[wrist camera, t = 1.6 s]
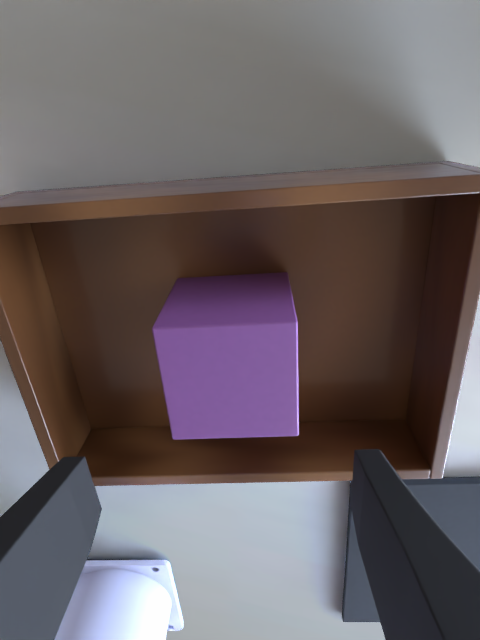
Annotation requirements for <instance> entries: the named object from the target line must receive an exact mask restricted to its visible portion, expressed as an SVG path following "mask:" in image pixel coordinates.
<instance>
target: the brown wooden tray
mask: <svg viewBox="0 0 480 640" xmlns="http://www.w3.org/2000/svg"><path fill="white" fill-rule="evenodd" d="M281 272H287V273H288V276H289V281H290V286H291V291H292V296H293V301H294V306H295V311H296V316H297V321H298V393H299V435H298V436H279V437H244V438H209V439H173V438H172V434H171V429H170V423H169V418H168V413H167V408H166V402H165V397H164V392H163V386H162V381H161V376H160V370H159V365H158V360H157V355H156V349H155V344H154V339H153V333H152V327H153V325H154V323H155V321H156V319H157V317H158V315H159V313H160V312H161V310H162V308H163V306H164V304H165V302H166V300H167V298H168V296H169V294H170V292H171V290H172V288H173V286H174V284H175V282H176V280H177V279H178V278H191V277H209V276H227V275H245V274H263V273H281ZM479 295H480V168H479V167H474V166H470V165H465V164H460V163H455V162H451V161H442V162H428V163H414V164H400V165H386V166H372V167H358V168H344V169H330V170H316V171H302V172H288V173H274V174H260V175H246V176H232V177H218V178H204V179H190V180H176V181H162V182H148V183H134V184H120V185H106V186H92V187H78V188H64V189H50V190H36V191H22V192H14V193H11V194H7V195H4V196H0V340H1V342H2V345H3V347H4V350H5V353H6V355H7V358H8V361H9V363H10V366H11V369H12V371H13V374H14V377H15V379H16V382H17V385H18V387H19V390H20V393H21V395H22V398H23V400H24V403H25V406H26V408H27V411H28V414H29V416H30V419H31V422H32V424H33V427H34V430H35V432H36V435H37V438H38V440H39V443H40V446H41V448H42V451H43V454H44V456H45V459H46V461H47V464H48V467H49V469H51V468H52V467H53V466H54V465H55V464H56V463H57V462H58V461H60V460H61V459H62V458H63V457H83V456H85V458H86V461H87V465H88V468H89V471H90V474H91V477H92V480H93V483H94V486H112V485H159V484H206V483H253V482H300V481H347V480H352V479H353V464H354V450H360V449H379V450H380V451H381V452H382V453H383V454H384V455H385V457H386V458H387V460H388V461H389V463H390V464H391V465H392V467H393V468H394V469H395V471H396V472H397V474H398V475H399V476H400V478H401V479H428V478H430V479H441V478H443V473H444V468H445V463H446V459H447V454H448V449H449V444H450V439H451V434H452V429H453V424H454V419H455V414H456V409H457V404H458V399H459V394H460V389H461V384H462V379H463V374H464V369H465V364H466V359H467V354H468V350H469V345H470V340H471V335H472V330H473V325H474V320H475V315H476V310H477V305H478V300H479Z"/></svg>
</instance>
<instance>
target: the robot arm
mask: <svg viewBox="0 0 480 640" xmlns="http://www.w3.org/2000/svg"><path fill="white" fill-rule="evenodd" d="M351 509H352V515H353V520H354V526H355V531H356V537H357V542H358V547H359V550H360V554H361V557H362V560H363V564H364V567H365V571H366V574H367V578H368V581H369V585H370V588H371V591H372V595H373V598H374V601H375V605H376V608H377V612H378V615H379V618H380V622H381V625H382V629H383V632H384V635H385V639H386V640H480V570H479V569H478V568H477V567H476V566H475V565H474V564H473V563H472V562H471V561H470V559H469V558H468V557H467V556H466V555H465V554H464V553H463V552H462V551H461V550H460V549H459V547H458V546H457V545H456V544H455V543H454V542H453V541H452V540H451V539H450V537H449V536H448V535H447V534H446V533H445V532H444V531H443V530H442V528H441V527H440V526H439V525H438V524H437V522H436V521H435V520H434V519H433V518H432V516H431V515H430V514H429V513H428V512H427V510H426V509H425V508H424V507H423V506H422V505H421V503H420V502H419V501H418V500H417V498H416V497H415V496H414V495H413V493H412V492H411V491H410V489H409V488H408V487H407V485H406V484H405V483H404V482H403V480H402V479H401V478H400V476H399V475H398V474H397V472H396V471H395V469H394V468H393V467H392V465H391V464H390V463H389V461H388V460H387V458H386V457H385V455H384V454H383V453H382V452H381V451H380V450H379V449H360V450H354V464H353V479H352V493H351ZM101 510H102V508H101V505H100V502H99V499H98V496H97V493H96V490H95V486H94V483H93V480H92V477H91V474H90V471H89V468H88V465H87V461H86V458H85V456H83V457H63V458H62V459H61V460H60V461H58V462H57V463H56V464H55V465H54V466H53V467H52V468H51V469H50V470H49V471H48V472H47V473H46V474H45V475H44V476H43V477H42V478H41V479H40V480H39V481H38V482H37V483H35V484H34V485H33V486H32V487H31V488H30V489H29V490H28V491H27V492H26V493H25V494H24V495H23V496H22V497H21V498H20V499H19V500H18V501H17V502H16V503H15V504H14V505H13V506H12V507H10V508H9V509H8V510H7V511H6V512H5V513H4V514H3V515H2V516H1V517H0V640H166V634H167V631H178V630H181V629H182V628H183V624H184V621H183V617H182V613H181V608H180V604H179V600H178V595H177V591H176V587H175V582H174V578H173V574H172V570H171V565H170V563H169V562H168V561H166V560H87V557H88V555H89V552H90V550H91V546H92V543H93V540H94V536H95V533H96V529H97V525H98V521H99V517H100V513H101Z"/></svg>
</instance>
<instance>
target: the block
mask: <svg viewBox="0 0 480 640" xmlns="http://www.w3.org/2000/svg"><path fill="white" fill-rule="evenodd" d="M152 333H153V339H154V344H155V349H156V355H157V360H158V365H159V370H160V376H161V381H162V386H163V392H164V397H165V402H166V408H167V413H168V418H169V423H170V429H171V434H172V438H173V439H209V438H244V437H279V436H298V435H299V393H298V321H297V316H296V311H295V306H294V301H293V296H292V291H291V286H290V281H289V276H288V273H287V272H281V273H263V274H245V275H227V276H209V277H191V278H178V279H177V280H176V282H175V284H174V286H173V288H172V290H171V292H170V294H169V296H168V298H167V300H166V302H165V304H164V306H163V308H162V310H161V312H160V313H159V315H158V317H157V319H156V321H155V323H154V325H153V327H152Z"/></svg>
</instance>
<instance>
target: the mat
mask: <svg viewBox="0 0 480 640" xmlns="http://www.w3.org/2000/svg"><path fill="white" fill-rule="evenodd" d="M402 480H403V482H404V483H405V484H406V485H407V487H408V488H409V489H410V491H411V492H412V493H413V495H414V496H415V497H416V498H417V500H418V501H419V502H420V503H421V505H422V506H423V507H424V508H425V509H426V510H427V512H428V513H429V514H430V515H431V516H432V518H433V519H434V520H435V521H436V522H437V524H438V525H439V526H440V527H441V528H442V530H443V531H444V532H445V533H446V534H447V535H448V536H449V537H450V539H451V540H452V541H453V542H454V543H455V544H456V545H457V546H458V547H459V549H460V550H461V551H462V552H463V553H464V554H465V555H466V556H467V557H468V558H469V559H470V561H471V562H472V563H473V564H474V565H475V566H476V567H477V568H478V569H479V570H480V477H457V478H441V479H430V478H428V479H402ZM351 493H352V480H351V485H350V501H349V516H348V531H347V546H346V561H345V577H344V592H343V607H342V619H343V622H380V618H379V615H378V612H377V608H376V605H375V601H374V598H373V595H372V591H371V588H370V585H369V581H368V578H367V574H366V571H365V567H364V564H363V560H362V557H361V554H360V550H359V547H358V542H357V537H356V531H355V526H354V520H353V515H352V509H351Z"/></svg>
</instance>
